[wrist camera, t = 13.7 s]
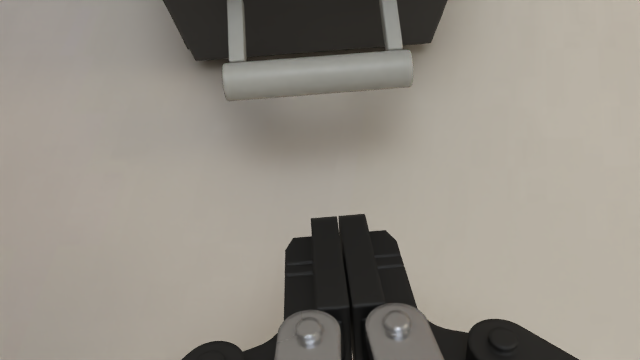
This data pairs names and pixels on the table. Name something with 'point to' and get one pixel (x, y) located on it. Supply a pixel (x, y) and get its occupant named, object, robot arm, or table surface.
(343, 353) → the robot arm
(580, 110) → the table surface
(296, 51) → the drawer
